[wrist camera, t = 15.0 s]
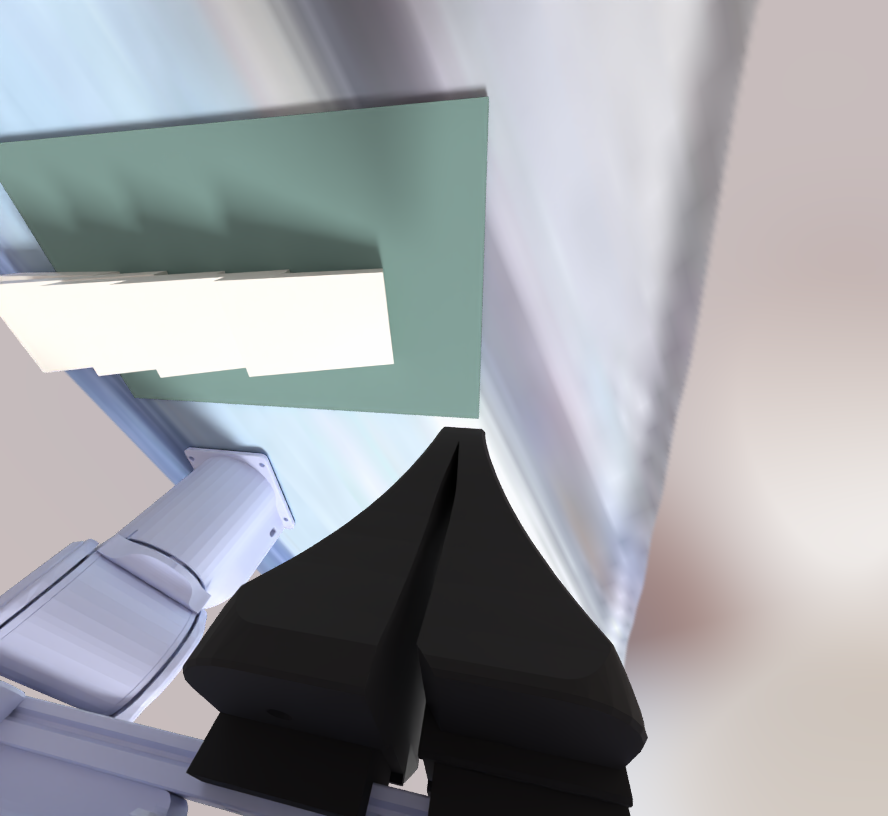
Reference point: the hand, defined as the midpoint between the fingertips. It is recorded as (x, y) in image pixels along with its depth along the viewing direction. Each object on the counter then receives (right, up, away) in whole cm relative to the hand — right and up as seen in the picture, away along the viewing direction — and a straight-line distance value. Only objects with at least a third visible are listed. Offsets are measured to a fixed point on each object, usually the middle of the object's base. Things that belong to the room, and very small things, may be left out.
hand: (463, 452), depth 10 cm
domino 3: (-9, +7, +8) cm, 14 cm away
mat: (-12, +9, +9) cm, 18 cm away
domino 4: (-4, +7, +7) cm, 11 cm away
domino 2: (-14, +7, +9) cm, 18 cm away
